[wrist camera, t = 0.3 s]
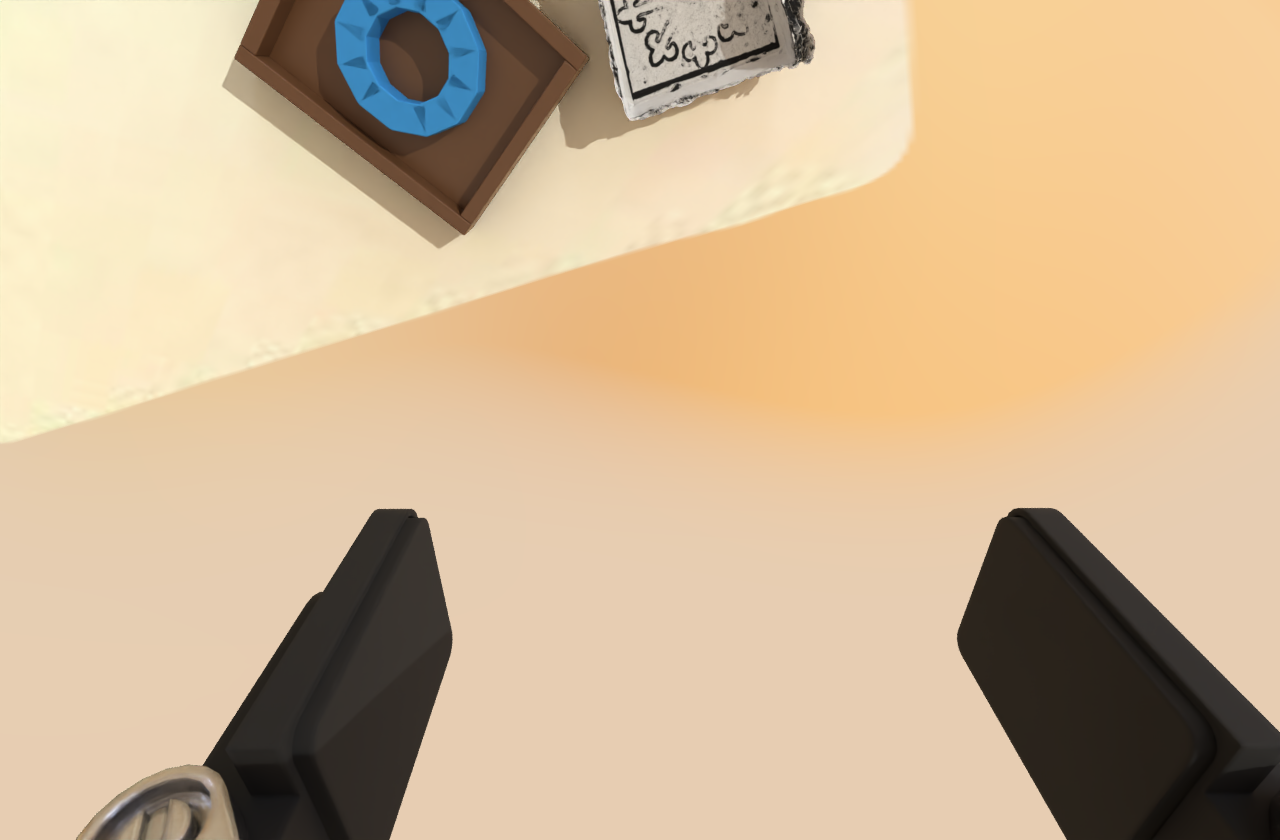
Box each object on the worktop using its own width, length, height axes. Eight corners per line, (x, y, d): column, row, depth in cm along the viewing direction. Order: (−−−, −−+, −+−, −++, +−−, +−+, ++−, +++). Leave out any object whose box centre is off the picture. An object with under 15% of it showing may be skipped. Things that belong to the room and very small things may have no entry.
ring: (392, -61, 29) (378, -69, 27) (512, 49, 31) (505, 47, 30) (327, 67, 32) (310, 66, 30) (442, 160, 34) (432, 164, 32)
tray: (356, -166, 27) (338, -181, 26) (589, 58, 32) (587, 57, 30) (254, 59, 32) (233, 58, 30) (472, 228, 36) (464, 235, 35)
